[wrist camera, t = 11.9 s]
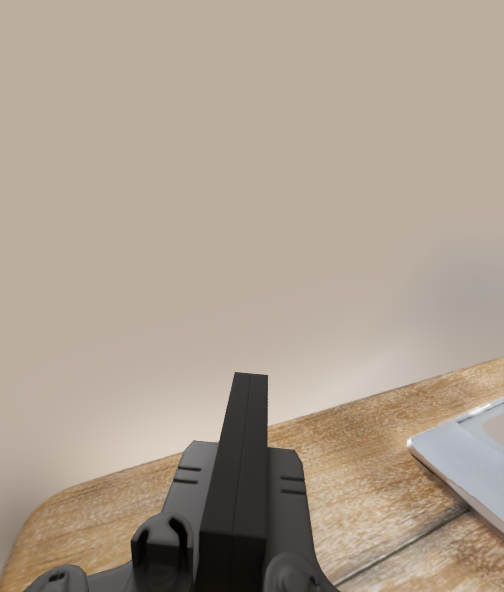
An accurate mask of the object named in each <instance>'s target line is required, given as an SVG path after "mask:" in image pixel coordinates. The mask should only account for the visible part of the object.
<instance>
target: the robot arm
mask: <svg viewBox="0 0 504 592" xmlns="http://www.w3.org/2000/svg"><path fill="white" fill-rule="evenodd" d="M267 407H268V375H260V374H249V373H239V372H235V374H234V378H233V383H232V388H231V392H230V396H229V401H228V405H227V409H226V414H225V418H224V423H223V427H222V432H221V436H220V440H219V443H213V442H203V441H193V442H192V443H191V444H190V445H189V447H187V449H186V450H185V451H184V452H183V454H182V457H181V460H180V462H179V465H178V469H177V470H176V473H175V476H174V479H173V482H172V484H171V487H170V489H169V492H168V495H167V497H166V500H165V503H164V506H163V508H162V511H161V513H159V514H157V515H155V516H152V517H150V518H149V519H148V520H146V521H145V522H144V523H143V524H142V525H141V526H140V527H139V528H138V529H137V531H136V533H135V534H134V536H133V538H132V539H131V552H132V560H130V561H129V562H127V563H126V564H124V565H122V566H119V567H117V568H114V569H110V570H107V571H103V572H99V573H96V574H92V575H89V576H86V573H85V572H84V571H83V570H82V569H81V568H80V567H79V566H76V565H70V564H66V565H62V566H58V567H55V568H53V569H51V570H49V571H48V572H46V573H44V574H43V575H41V576H39V577H38V578H37V579H36V580H35V581H34V582H33V583H32V584H31V585H30V586H29V587H28V588H26V589H25V590H24V591H23V592H340V591H339V590H338V589H336V588H335V587H334V586H333V585H332V584H331V583H330V581H329V580H328V579H327V578H326V576H325V575H324V573H323V572H322V570H321V568H320V566H319V563H318V561H317V558H316V554H315V550H314V543H313V536H312V529H311V521H310V514H309V507H308V500H307V496H306V486H305V478H304V471H303V464H302V462H301V460H300V459H299V457H298V455H297V453H296V452H295V450H290V449H280V448H270V447H267V423H268V417H267V416H268V408H267Z"/></svg>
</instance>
